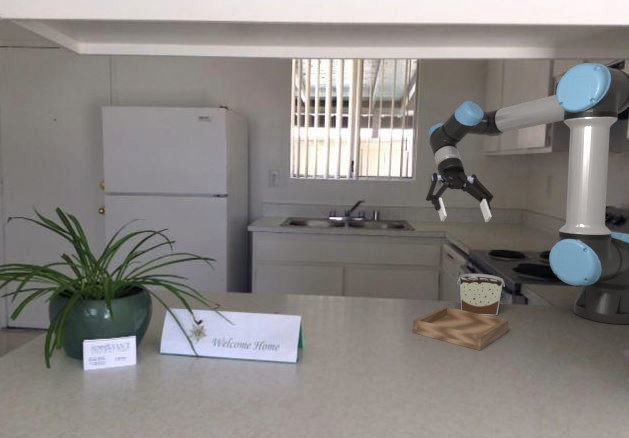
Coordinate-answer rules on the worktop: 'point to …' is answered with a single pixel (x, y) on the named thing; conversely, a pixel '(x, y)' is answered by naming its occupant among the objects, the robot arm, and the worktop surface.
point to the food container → (480, 293)
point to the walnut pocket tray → (461, 327)
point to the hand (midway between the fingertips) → (466, 219)
